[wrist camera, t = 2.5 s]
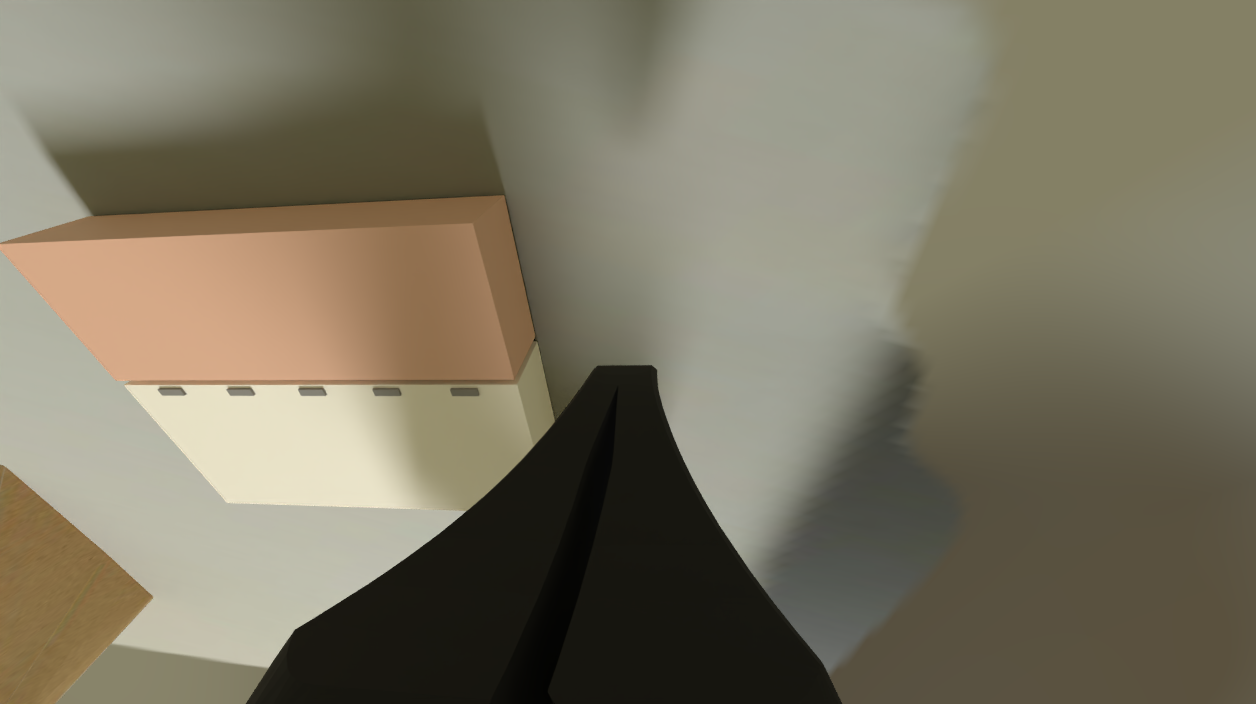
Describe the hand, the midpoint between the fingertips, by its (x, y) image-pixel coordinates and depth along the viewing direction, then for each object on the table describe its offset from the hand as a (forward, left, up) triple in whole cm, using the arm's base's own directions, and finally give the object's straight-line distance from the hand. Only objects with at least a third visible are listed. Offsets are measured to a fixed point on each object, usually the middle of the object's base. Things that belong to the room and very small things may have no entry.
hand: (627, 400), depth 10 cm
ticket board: (-6, +13, -7) cm, 16 cm away
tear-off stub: (0, +13, -7) cm, 14 cm away
